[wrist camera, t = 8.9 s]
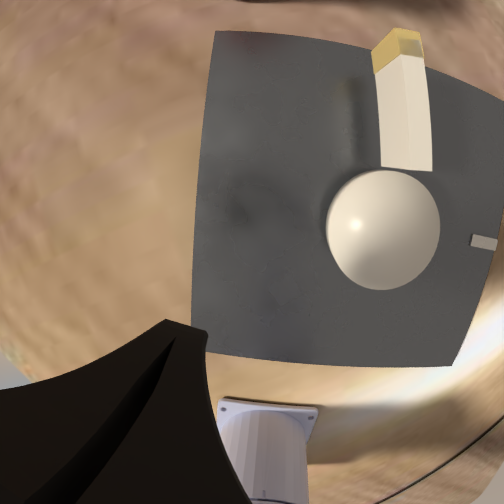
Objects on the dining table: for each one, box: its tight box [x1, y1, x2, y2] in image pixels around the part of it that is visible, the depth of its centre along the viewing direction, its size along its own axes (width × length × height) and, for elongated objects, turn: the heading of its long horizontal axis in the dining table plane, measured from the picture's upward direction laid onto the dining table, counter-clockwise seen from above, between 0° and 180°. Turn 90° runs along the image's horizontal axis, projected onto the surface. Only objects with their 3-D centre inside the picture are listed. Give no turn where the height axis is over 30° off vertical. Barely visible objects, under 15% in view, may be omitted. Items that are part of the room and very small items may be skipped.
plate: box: [191, 31, 504, 367], centre depth 16 cm, size 20×20×2 cm
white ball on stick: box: [326, 28, 440, 290], centre depth 12 cm, size 12×6×5 cm, turn 3°
